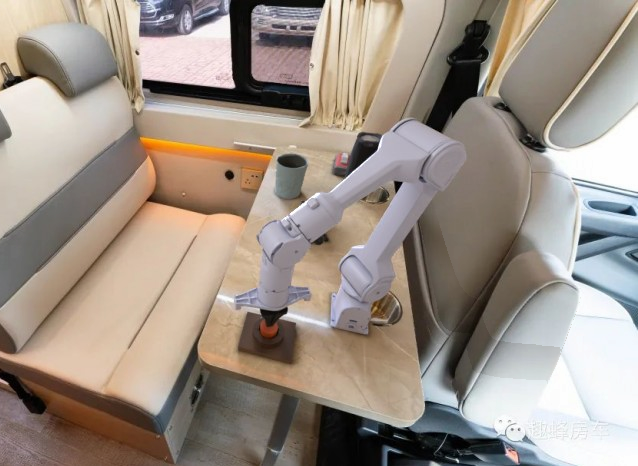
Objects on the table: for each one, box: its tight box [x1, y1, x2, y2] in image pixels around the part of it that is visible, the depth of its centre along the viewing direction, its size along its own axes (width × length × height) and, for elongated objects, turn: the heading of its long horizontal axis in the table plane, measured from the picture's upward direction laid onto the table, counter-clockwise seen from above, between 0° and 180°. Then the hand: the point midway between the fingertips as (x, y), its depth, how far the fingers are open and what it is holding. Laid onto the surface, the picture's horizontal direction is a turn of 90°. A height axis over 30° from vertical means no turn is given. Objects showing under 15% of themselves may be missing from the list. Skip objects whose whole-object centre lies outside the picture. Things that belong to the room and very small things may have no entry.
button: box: [260, 320, 278, 338], centre depth 68 cm, size 4×4×2 cm
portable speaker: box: [344, 131, 383, 179], centre depth 106 cm, size 9×9×20 cm
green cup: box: [274, 152, 309, 200], centre depth 109 cm, size 10×10×12 cm
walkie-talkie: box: [331, 152, 351, 177], centre depth 124 cm, size 9×4×20 cm
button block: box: [237, 311, 297, 365], centre depth 70 cm, size 11×9×4 cm
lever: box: [313, 236, 325, 246], centre depth 91 cm, size 12×3×3 cm, turn 9°
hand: (268, 322), depth 68 cm, fingers closed
